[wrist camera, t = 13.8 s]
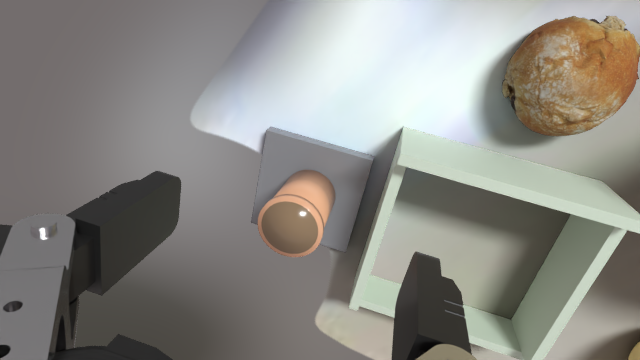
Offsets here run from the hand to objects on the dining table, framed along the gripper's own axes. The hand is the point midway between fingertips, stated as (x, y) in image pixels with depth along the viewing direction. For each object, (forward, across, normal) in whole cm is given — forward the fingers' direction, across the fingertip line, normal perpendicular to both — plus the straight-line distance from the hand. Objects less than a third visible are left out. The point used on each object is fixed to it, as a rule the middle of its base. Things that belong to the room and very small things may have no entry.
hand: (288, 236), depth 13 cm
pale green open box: (+30, -14, +13) cm, 36 cm away
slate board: (+30, +4, +13) cm, 33 cm away
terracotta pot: (+29, +4, +13) cm, 32 cm away
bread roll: (+30, -16, -6) cm, 35 cm away
